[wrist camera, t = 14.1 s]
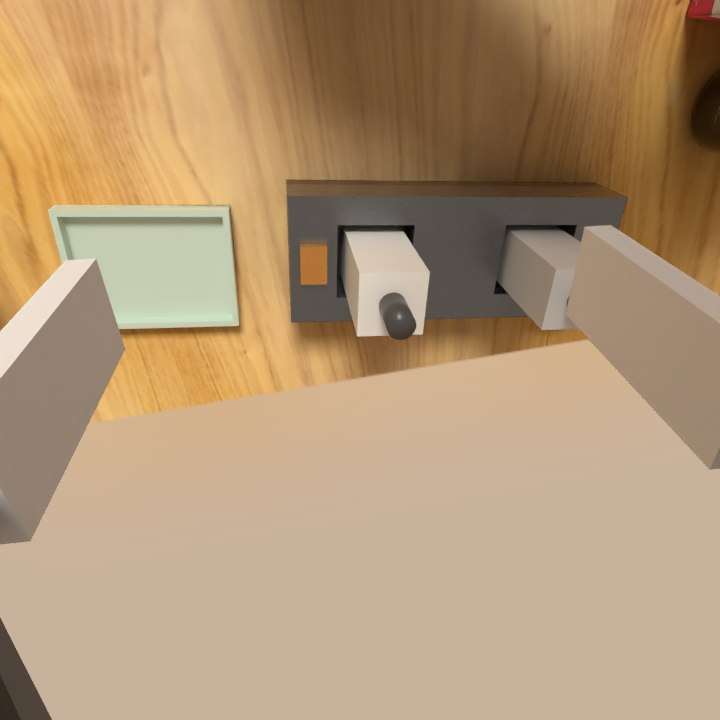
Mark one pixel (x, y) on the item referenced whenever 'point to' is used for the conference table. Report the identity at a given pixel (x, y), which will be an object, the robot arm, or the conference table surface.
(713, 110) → the supplement bottle
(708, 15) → the ink box
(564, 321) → the twin plug
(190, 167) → the conference table surface
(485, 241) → the power strip
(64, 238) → the tray
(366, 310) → the plug
